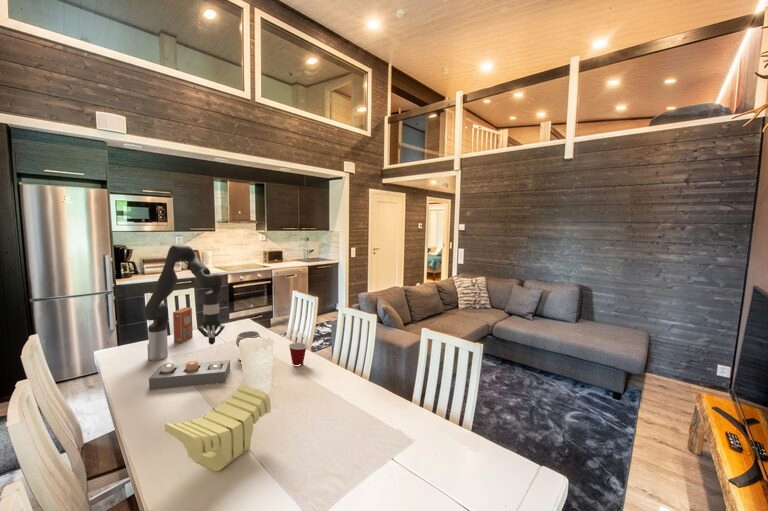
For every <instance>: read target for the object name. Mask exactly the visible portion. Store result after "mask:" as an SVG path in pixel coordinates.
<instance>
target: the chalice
mask: <svg viewBox="0 0 768 511" xmlns="http://www.w3.org/2000/svg"><path fill="white" fill-rule="evenodd" d="M257 337H260V338H261V336H260V333H259V332H258V331H251V330H250V331H244V332H241V333H239V334H238V335H237V337H236V341H235V345H236V346H237V347H238V348H239V342H240V340H242V339H245V338H257ZM237 361H240V356H238V358H237ZM240 362H241V361H240Z"/></svg>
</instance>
